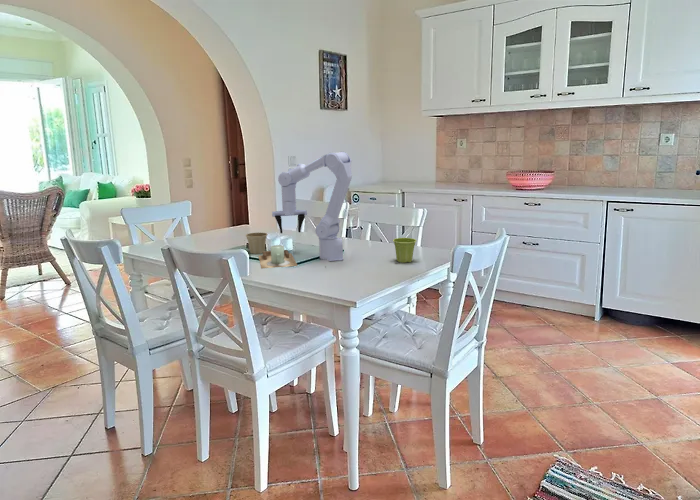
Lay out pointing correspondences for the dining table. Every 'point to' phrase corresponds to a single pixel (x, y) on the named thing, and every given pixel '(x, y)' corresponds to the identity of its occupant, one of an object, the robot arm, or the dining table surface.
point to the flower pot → (256, 242)
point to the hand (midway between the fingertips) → (290, 232)
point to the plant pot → (404, 249)
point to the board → (266, 263)
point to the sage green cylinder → (277, 254)
